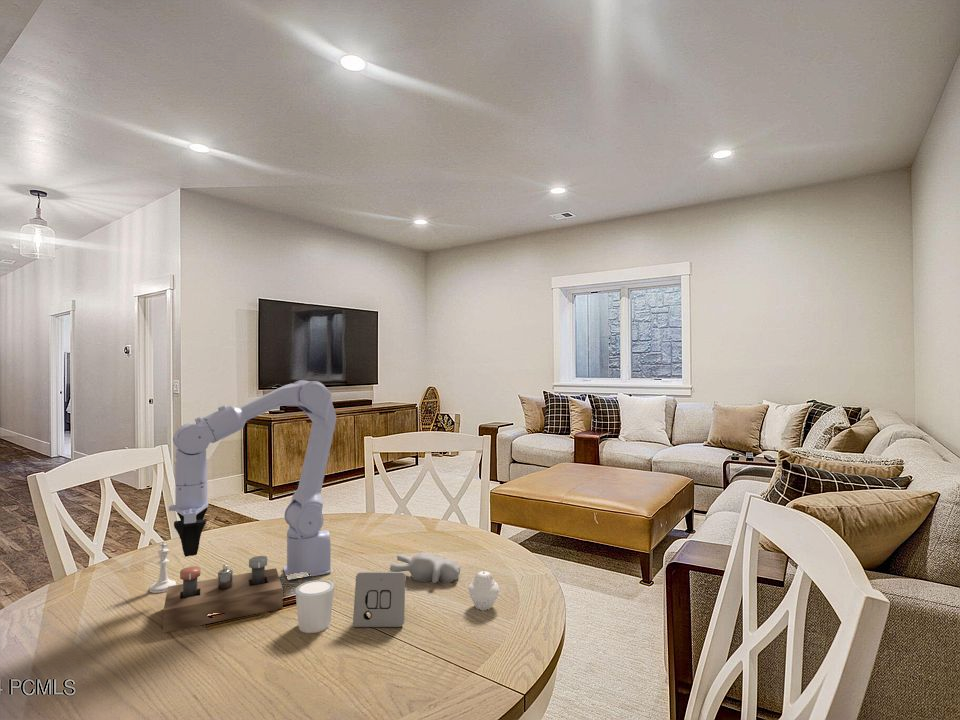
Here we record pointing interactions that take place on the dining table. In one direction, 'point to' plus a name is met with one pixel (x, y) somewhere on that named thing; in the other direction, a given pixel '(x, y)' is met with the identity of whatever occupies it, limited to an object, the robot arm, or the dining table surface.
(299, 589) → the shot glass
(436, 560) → the bunny figurine
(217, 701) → the dining table surface
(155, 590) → the chess piece
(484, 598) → the white owl figurine
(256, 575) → the knob grey
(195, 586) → the knob red
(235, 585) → the mount
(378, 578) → the electrical switch
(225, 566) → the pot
